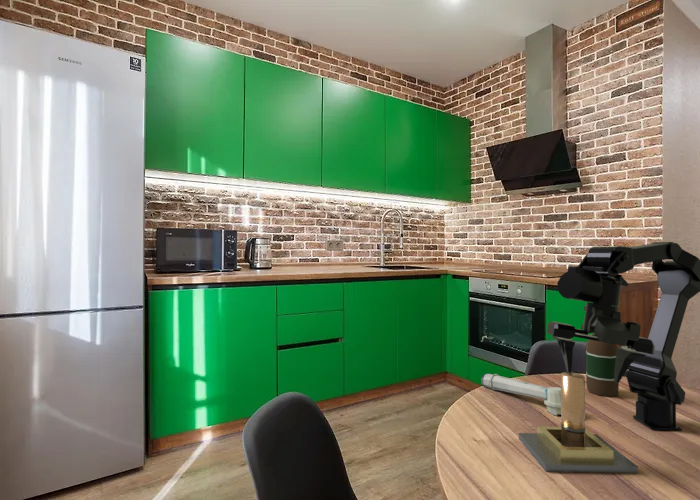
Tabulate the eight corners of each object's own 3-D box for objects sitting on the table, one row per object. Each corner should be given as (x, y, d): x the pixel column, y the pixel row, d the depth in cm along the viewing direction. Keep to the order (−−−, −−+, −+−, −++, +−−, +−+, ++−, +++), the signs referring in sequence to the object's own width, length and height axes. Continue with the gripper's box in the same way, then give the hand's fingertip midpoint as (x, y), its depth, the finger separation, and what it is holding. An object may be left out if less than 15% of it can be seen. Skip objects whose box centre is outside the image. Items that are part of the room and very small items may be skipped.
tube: (572, 441, 76) (572, 371, 77) (590, 451, 72) (590, 377, 73) (556, 444, 75) (555, 373, 75) (573, 454, 71) (572, 379, 72)
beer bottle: (590, 385, 112) (589, 304, 112) (622, 392, 107) (621, 306, 107) (582, 392, 107) (581, 306, 107) (614, 399, 101) (614, 309, 101)
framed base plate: (596, 440, 80) (596, 424, 80) (637, 473, 68) (637, 455, 68) (518, 438, 80) (518, 423, 80) (545, 471, 68) (545, 453, 68)
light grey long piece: (491, 371, 114) (574, 384, 92) (493, 394, 113) (578, 413, 92) (478, 374, 111) (561, 388, 90) (481, 398, 111) (565, 418, 89)
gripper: (567, 298, 76) (556, 377, 75) (676, 316, 71) (665, 399, 71) (550, 296, 86) (541, 364, 86) (643, 311, 82) (634, 383, 82)
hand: (592, 377), depth 81 cm, fingers open, 9 cm apart
